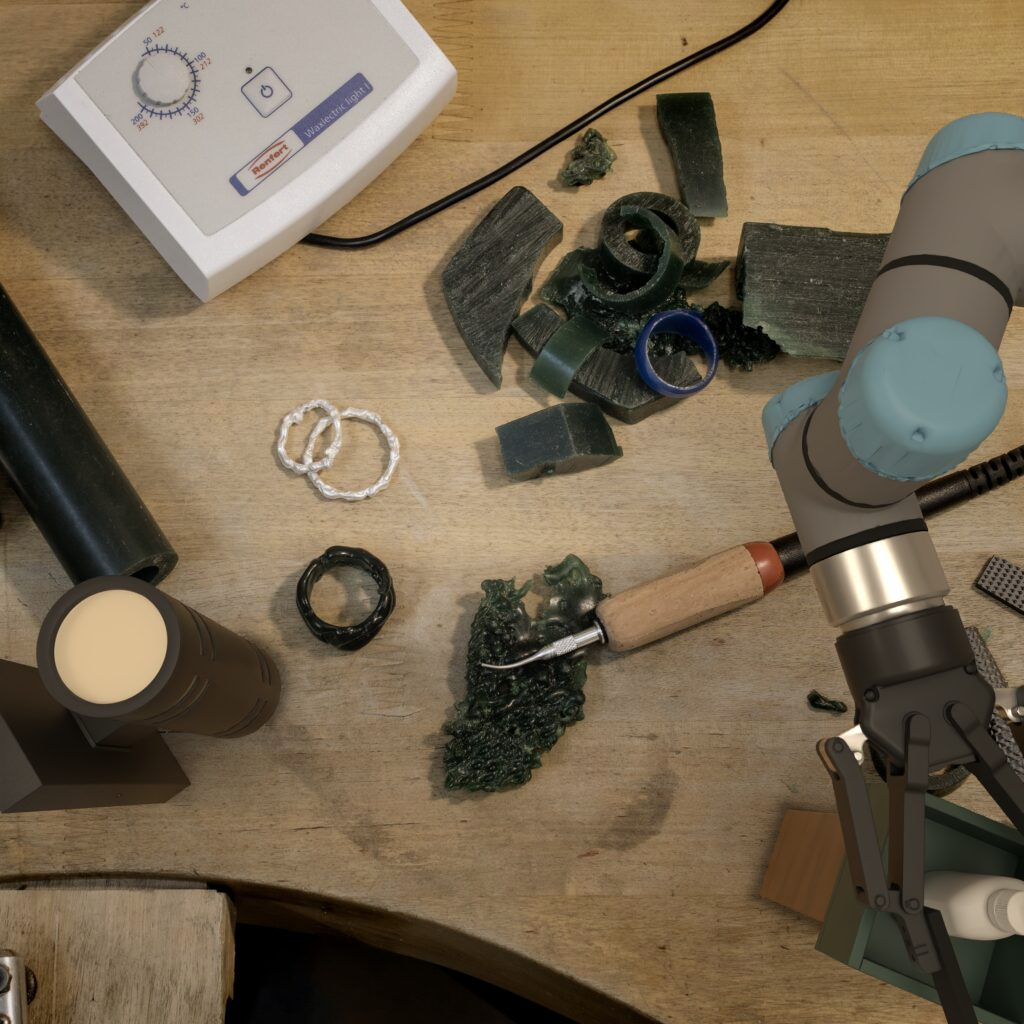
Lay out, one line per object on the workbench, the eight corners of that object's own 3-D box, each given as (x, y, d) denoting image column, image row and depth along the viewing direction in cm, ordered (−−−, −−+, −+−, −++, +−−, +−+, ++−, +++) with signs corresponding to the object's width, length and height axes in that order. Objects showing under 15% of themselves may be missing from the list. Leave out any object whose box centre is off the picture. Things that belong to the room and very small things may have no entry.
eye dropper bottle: (963, 945, 69) (1083, 971, 58) (884, 919, 69) (989, 941, 58) (973, 878, 71) (1093, 891, 59) (896, 853, 70) (1001, 860, 59)
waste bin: (1027, 849, 72) (1081, 855, 65) (980, 1020, 69) (1032, 1045, 63) (866, 782, 73) (903, 782, 66) (813, 948, 70) (847, 965, 64)
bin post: (868, 843, 96) (995, 864, 72) (841, 930, 94) (962, 981, 70) (785, 808, 96) (883, 817, 72) (757, 894, 95) (847, 932, 70)
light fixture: (304, 707, 98) (213, 671, 66) (166, 804, 96) (2, 815, 64) (244, 616, 100) (128, 538, 68) (107, 708, 98) (-80, 673, 66)
